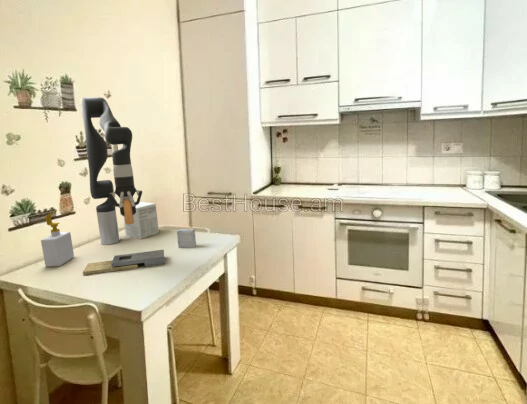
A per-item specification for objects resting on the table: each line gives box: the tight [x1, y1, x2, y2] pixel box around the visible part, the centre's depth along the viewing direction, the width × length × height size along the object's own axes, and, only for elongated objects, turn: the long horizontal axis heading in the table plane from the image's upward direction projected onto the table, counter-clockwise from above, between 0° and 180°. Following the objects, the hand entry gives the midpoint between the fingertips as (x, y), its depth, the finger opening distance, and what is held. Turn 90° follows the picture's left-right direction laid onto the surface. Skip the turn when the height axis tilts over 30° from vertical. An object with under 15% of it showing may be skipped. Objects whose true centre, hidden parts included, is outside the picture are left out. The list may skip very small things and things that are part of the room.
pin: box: [122, 196, 134, 225], centre depth 148 cm, size 5×5×12 cm
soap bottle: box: [40, 211, 75, 268], centre depth 156 cm, size 12×7×23 cm, turn 179°
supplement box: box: [123, 201, 160, 240], centre depth 195 cm, size 13×13×18 cm
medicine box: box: [176, 228, 197, 249], centre depth 171 cm, size 8×4×9 cm, turn 84°
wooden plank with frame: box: [82, 249, 166, 276], centre depth 149 cm, size 32×10×4 cm, turn 106°
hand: (128, 214), depth 149 cm, fingers closed on pin, 3 cm apart
